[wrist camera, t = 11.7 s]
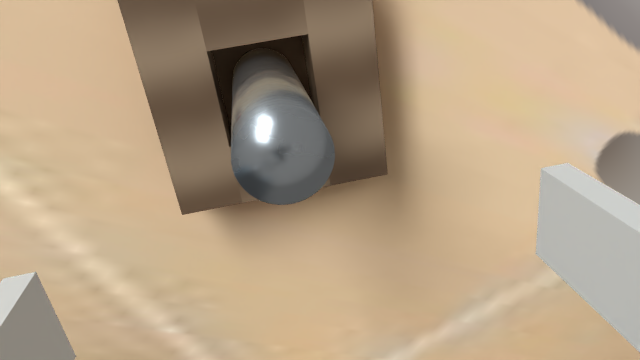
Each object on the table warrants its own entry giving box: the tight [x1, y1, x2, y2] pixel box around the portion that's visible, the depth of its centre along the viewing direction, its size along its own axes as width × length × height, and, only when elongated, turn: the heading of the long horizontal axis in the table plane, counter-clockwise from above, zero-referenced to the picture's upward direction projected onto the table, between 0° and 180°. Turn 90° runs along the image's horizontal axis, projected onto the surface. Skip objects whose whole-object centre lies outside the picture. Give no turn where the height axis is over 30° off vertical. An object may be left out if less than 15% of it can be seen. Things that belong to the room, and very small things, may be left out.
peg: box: [231, 48, 335, 205], centre depth 26 cm, size 4×4×15 cm
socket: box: [118, 0, 387, 215], centre depth 31 cm, size 14×14×4 cm
